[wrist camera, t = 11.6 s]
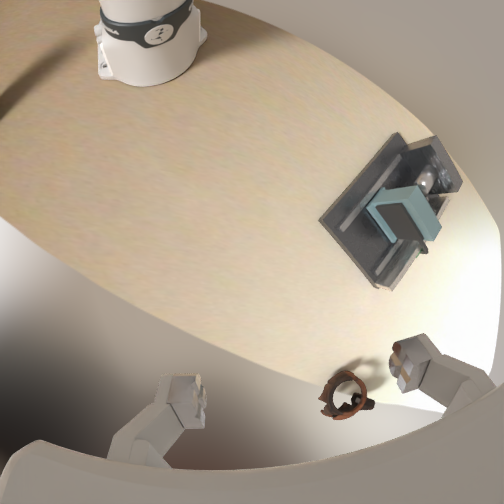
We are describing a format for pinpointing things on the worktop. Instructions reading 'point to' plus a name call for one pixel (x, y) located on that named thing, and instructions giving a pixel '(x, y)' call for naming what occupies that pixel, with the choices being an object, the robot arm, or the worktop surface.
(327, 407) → the brown hollow ring part
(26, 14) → the worktop surface
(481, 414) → the robot arm
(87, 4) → the worktop surface
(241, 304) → the worktop surface
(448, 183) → the frame
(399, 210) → the gauge slider
